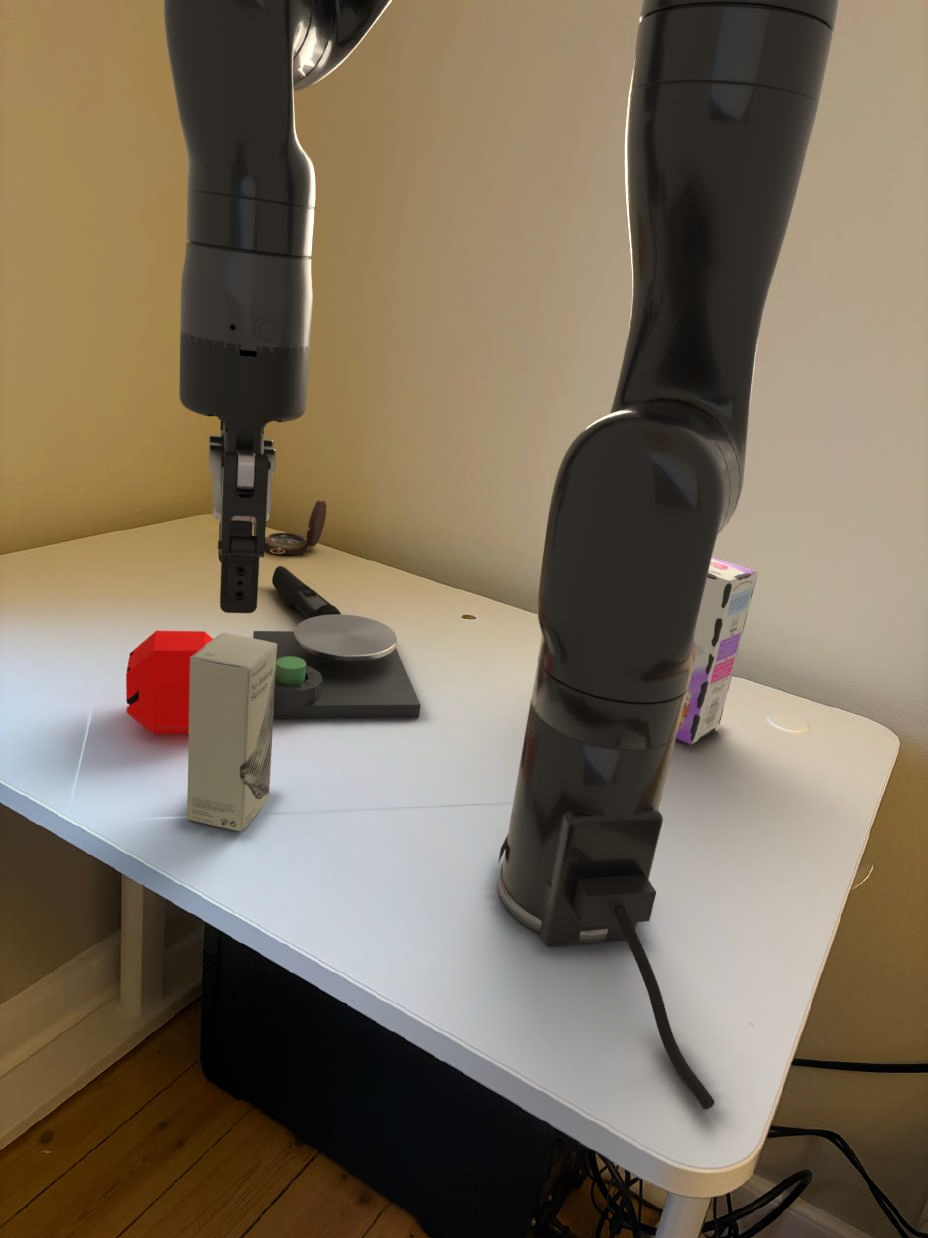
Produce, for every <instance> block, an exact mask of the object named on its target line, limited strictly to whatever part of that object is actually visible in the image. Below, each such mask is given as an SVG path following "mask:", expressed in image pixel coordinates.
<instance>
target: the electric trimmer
mask: <svg viewBox="0 0 928 1238" xmlns="http://www.w3.org/2000/svg"><path fill="white" fill-rule="evenodd" d="M271 583H272V586H273V588H274V589H275V590H276V592H277V593H278V595H279V597H280V598H281V600H282V602H283V603H284V604H285V606H286V607H288V608H290V609H293V610H297V611H298V612H299V613H300V614H301V615H302V616H303V617H304V618H305V620H306V619H309V618H312V617H316V616H321V615H332V614H342V613H341V611H340V610H339V609H338V608H337V607H336V606H335V605H333V604H331V603H330V602H329V601H328V600H326V599H325V598H324V597H323V596H322V595H320V594H319V593H317V592H316V590H314V589H313V588H311V587H310V586H309V585H307V584H306V583H304V582H303V581H302V580H301V579H299V577H297V576H296V575H295V574H293V573H292V572H291V571H290V570H288V569H287V568H286V567H285V566H282V565H278V566H277V567H275V569H274V571H273V574H272V578H271Z"/></svg>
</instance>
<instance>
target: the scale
mask: <svg viewBox="0 0 928 1238" xmlns="http://www.w3.org/2000/svg"><path fill="white" fill-rule="evenodd" d="M252 633H253V634H252V638H253V639H258V640H263V641H268V642H272V643H276V644H277V654H276V661H277V660H278V659H279V658H282V657H287V656H292V657H298V658H301V659H303V660H304V661H305V662H306V671H305V681H304V683H301V684H297V685H286V684H282V683H278V682H276V680H275V688H274V710H273V720H329V719H332V720H334V719H339V720H340V719H341V720H342V719H394V718H395V719H401V718H403V719H405V718H410V719H411V718H420V713H421V701H420V700H419V697H418V695H417V693H416V691H415V689H414V686H413V684H412V682H411V679H410V677H409V675H408V673H407V670H406V668H405V666H404V663H403V660H402V659H401V657H400V654H399V651H398V649H397V647H396V648H395V649H394V650H393V651H392V652H391V653H390V654H388V655H386V656H384V657H381V658H378V659H374V660H368V661H354V662H352V661H337V660H331V659H326V658H322V657H319V656H316V655H313V654H311V653H308V652H306V651H305V650H303V649H302V648H300V647H299V646H298V645H297V644H296V642H295V640H294V630H293V631H290V630H289V631H288V630H253V632H252ZM275 671H276V668H275Z"/></svg>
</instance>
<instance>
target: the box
mask: <svg viewBox="0 0 928 1238" xmlns="http://www.w3.org/2000/svg"><path fill="white" fill-rule="evenodd" d="M276 654H277V644H276V643H272V642H268V641H263V640H258V639H253V637H249V636H243V635H240V634H234V633H229V632H222V633H220V634H219V635H217V636H216V637H214V638H213V640H212V641H210V642H209V643H207V644H206V645H205V646H204V647H203V648H202V649H200V650H199V651H198V652H197V653H195V654H194V655H193V656H192V657H191V658H190V689H189V734H188V745H187V746H188V749H187V750H188V751H187V753H188V754H187V755H188V756H187V798H186V799H187V801H186V804H187V805H186V819H187V820H188V821H193V822H195V823H200V824H203V825H209V826H213V827H217V828H222V829H227V830H231V831H235V832H243V831H244V830H245V829H246V827H247V826H248V825H250V823H251V822H252V821H253V819H254V818H255V817H256V816H257V814H258V813H259V812H260V811H261V809H262V808H263V807H264V805H265V803H266V802H267V801H268V800H269V798H270V788H271V787H270V786H271V783H270V782H271V766H272V748H273V728H274V719H273V710H274V688H275V668H276Z"/></svg>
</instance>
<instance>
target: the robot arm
mask: <svg viewBox="0 0 928 1238" xmlns="http://www.w3.org/2000/svg"><path fill="white" fill-rule="evenodd" d="M392 1H393V0H163V21H164V22H163V23H164V33H165V40H166V47H167V54H168V55H167V56H168V61H169V67H170V73H171V79H172V83H173V89H174V95H175V101H176V107H177V112H178V119H179V122H180V126H181V130H182V135H183V139H184V143H185V148H186V153H187V158H188V171H187V172H188V173H187V183H186V189H187V190H186V233H185V235H186V237H185V238H186V240H187V242H186V243H185V254H184V261H183V266H182V267H183V268H182V274H181V281H180V323H179V324H180V325H179V339H180V340H179V341H180V342H179V391H178V392H179V393H178V394H179V396H178V397H179V400H180V403H181V405H183V407H184V408H186V409H187V410H189V411H190V412H193V413H196V414H198V415H201V416H205V417H216V418H217V419H218V420H219V421H220V423H219V424H220V425H219V435H217V434H209V435H208V473H209V474H210V476H211V488H212V500H211V501H212V503H211V504H212V505H211V507H212V508H211V509H212V510H211V513H212V517H213V518H214V519H216V520H217V521H218V523H219V525H218V527H219V528H218V540H217V550H218V553H217V554H218V561H219V563H220V585H219V586H220V588H219V589H220V591H219V607H220V609H221V611H222V612H224V613H226V614H253V613H254V612H255V611H256V610H257V608H258V596H259V595H258V592H259V577H260V575H259V574H260V573H259V572H260V558H264V557H265V552H268V551H267V543H266V542H265V538H266V530H267V529H266V525H267V522H268V521H269V519H270V518H271V517H270V516H271V514H272V513H271V512H272V479H273V478H274V475H275V472H276V466H277V465H276V464H277V463H276V462H277V460H276V459H277V456H276V455H277V454H276V448H274V439H272V438H271V439H267V438H265V428H266V425H268V424H269V423H271V422H276V423H288V422H292V421H296V420H298V419H300V418H301V417H302V416H303V415H304V414H305V412H306V410H307V397H308V396H307V395H308V383H309V366H310V352H311V351H310V350H311V336H312V322H313V307H314V306H313V304H314V303H313V301H314V294H313V292H314V291H313V280H312V279H313V277H312V259H311V257H312V255H313V254H312V253H313V239H314V222H315V205H316V176H315V175H316V174H315V167H314V163H313V161H312V158H311V156H310V155H309V153H308V151H306V149H305V147H303V145H302V143H301V142H300V140H299V138H298V135H297V131H296V118H295V115H296V114H295V97H294V96H295V95H294V92H295V93H296V92H299V91H302V90H305V89H308V88H310V87H312V86H313V85H315V84H317V83H318V82H319V81H321V80H323V79H324V78H326V77H327V76H329V75H330V74H332V72H333V71H334V70H336V69H338V67H339V66H341V64H342V63H344V61H345V60H346V59H347V58H348V57H349V56H350V55H351V54H352V53H353V52H354V50H355V49H356V48H357V47H358V45H360V43H361V42H362V41H363V39H364V38H365V37H366V35H367V34H368V33H369V32H370V30H371V29H372V27H373V26H374V25H375V24H376V23H377V21H378V20H379V18H380V17H381V16H382V14H383V13H384V12H385V10H386V9H387V8H388V7H389V5H390V4H391V3H392ZM839 1H840V0H642V4H641V8H640V13H639V23H638V27H637V34H636V35H637V36H636V42H635V48H634V55H633V56H634V57H633V65H632V70H631V75H630V76H631V78H630V84H629V93H628V99H627V100H628V101H627V109H626V110H627V111H626V124H625V141H624V171H625V172H624V174H625V175H624V177H625V179H624V180H625V194H626V195H625V197H626V210H627V222H628V223H627V224H628V236H629V244H630V245H629V246H630V258H631V259H630V260H631V261H630V262H631V273H632V297H631V310H630V320H629V324H628V325H629V327H628V333H627V337H626V338H627V339H626V343H625V348H624V356H623V360H622V363H621V368H620V373H619V378H618V381H617V382H618V383H617V386H616V389H615V394H614V397H613V402H612V404H611V405H612V406H611V409H610V412H609V414H608V415H606V416H602V418H600V419H597V420H595V421H594V422H592V423H590V424H589V425H588V426H587V427H586V428H584V430H582V431H581V432H580V433H579V434H578V435H577V436H576V437H575V439H573V441H572V442H571V444H570V445H569V447H568V449H567V450H566V452H565V454H564V456H563V457H562V460H561V462H560V465H559V467H558V471H557V474H556V477H555V480H554V485H553V488H552V489H553V490H552V495H551V499H550V503H549V511H548V517H547V522H546V531H545V539H544V546H543V553H542V561H541V568H540V569H541V570H540V577H539V585H538V594H537V603H536V604H537V605H536V606H537V607H536V608H537V609H536V610H537V621H538V626H539V630H540V635H541V636H540V644H539V651H538V657H537V663H536V669H535V675H534V680H533V685H532V690H531V691H532V692H531V697H530V701H529V707H528V712H527V713H528V714H527V719H526V726H525V732H524V736H523V743H522V749H521V755H520V759H519V760H520V761H519V766H518V772H517V778H516V785H515V790H514V796H513V802H512V807H511V814H510V820H509V826H508V832H507V835H506V837H505V839H504V840H503V843H502V845H501V847H500V850H499V856H498V862H497V864H499V863H500V862H501V859H502V857H503V855H504V857H503V861H502V863H501V867H500V870H499V875H498V876H499V877H498V885H497V887H498V893H499V896H500V899H501V901H502V903H503V905H504V906H505V908H506V909H507V911H509V913H510V914H511V915H512V916H513V917H514V918H515V919H516V920H517V921H519V922H520V923H522V924H523V925H524V926H526V927H528V928H529V929H531V930H533V931H534V932H536V933H538V934H539V935H540V936H541V938H542V940H543V942H544V944H545V945H547V946H550V947H552V946H564V945H574V944H575V945H577V944H591V943H599V942H609V941H622V940H626V943H627V945H628V947H629V949H630V951H631V954H632V956H633V959H634V961H635V964H636V965H637V968H638V971H639V973H640V975H641V978H642V980H643V983H644V986H645V989H646V992H647V994H648V997H649V1002H650V1005H651V1009H652V1012H653V1017H654V1020H655V1024H656V1028H657V1030H658V1034H659V1037H660V1040H661V1042H662V1044H663V1047H664V1049H665V1052H666V1054H667V1056H668V1058H669V1060H670V1062H671V1064H672V1066H673V1067H674V1069H675V1070H676V1072H677V1074H678V1075H679V1077H680V1078H681V1079H682V1081H683V1082H684V1084H685V1085H686V1086H687V1088H688V1089H689V1091H690V1092H691V1093H692V1095H693V1096H694V1097H695V1099H696V1100H697V1102H698V1103H699V1104H700V1106H701V1107H702V1109H703V1110H709V1109H711V1108H713V1106H714V1105H715V1100H714V1098H713V1096H712V1095H711V1093H710V1092H709V1091H708V1090H707V1088H706V1087H705V1085H704V1084H703V1083H702V1082H701V1080H700V1079H699V1078H698V1077H697V1075H696V1074H695V1072H694V1071H693V1070H692V1068H691V1066H689V1064H688V1062H687V1060H686V1059H685V1057H684V1055H683V1054H682V1051H681V1050H680V1048H679V1045H678V1043H677V1041H676V1038H675V1036H674V1032H673V1031H672V1027H671V1024H670V1020H669V1018H668V1013H667V1010H666V1006H665V1002H664V999H663V996H662V993H661V989H660V986H659V983H658V981H657V977H656V975H655V973H654V970H653V967H652V965H651V963H650V961H649V958H648V956H647V953H646V951H645V949H644V947H643V944H642V943H641V940H640V938H639V936H638V933H637V929H638V924H639V923H643V922H650V919H651V916H652V911H653V908H654V903H655V901H656V900H655V899H656V896H657V890H656V889H655V888H654V886H653V884H652V883H651V881H650V875H651V871H652V867H653V862H654V859H655V854H656V851H657V847H658V843H659V839H660V835H661V831H662V826H663V821H664V817H663V814H662V813H661V812H660V811H659V809H660V805H661V801H662V797H663V793H664V788H665V784H666V780H667V776H668V772H669V768H670V763H671V759H672V755H673V750H674V748H675V743H676V740H677V739H676V735H677V732H678V728H679V724H680V719H681V715H682V711H683V707H684V703H685V699H686V695H687V690H688V687H689V683H690V679H691V675H692V671H693V667H694V662H695V658H696V643H695V630H696V624H697V619H698V614H699V610H700V606H701V601H702V597H703V593H704V588H705V584H706V580H707V575H708V571H709V567H710V562H711V558H712V557H713V554H714V550H715V547H716V546H715V545H716V543H717V538H718V535H720V533H722V531H723V530H724V529H725V527H726V526H727V525H728V524H729V523H730V520H731V519H732V517H733V515H734V513H735V511H736V509H737V508H738V506H739V502H740V498H741V495H742V492H743V488H744V487H743V486H744V478H745V470H746V455H747V444H748V429H749V418H750V409H751V408H750V407H751V399H752V390H753V380H754V372H755V362H756V354H757V348H758V342H759V333H760V329H761V324H762V318H763V313H764V309H765V306H766V301H767V298H768V294H769V290H770V287H771V284H772V281H773V278H774V274H775V270H776V268H777V265H778V262H779V257H780V254H781V251H782V247H783V244H784V240H785V237H786V234H787V230H788V227H789V223H790V218H791V216H792V211H793V207H794V204H795V200H796V196H797V192H798V189H799V188H798V187H799V185H800V181H801V176H802V173H803V170H804V165H805V160H806V156H807V153H808V148H809V144H810V139H811V138H812V137H811V136H812V132H813V128H814V124H815V120H816V116H817V112H818V109H819V106H818V105H819V103H820V98H821V94H822V88H823V84H824V79H825V74H826V70H827V65H828V60H829V55H830V54H829V53H830V50H831V45H832V40H833V33H834V30H835V25H836V20H837V13H838V8H839V7H838V6H839Z"/></svg>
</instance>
